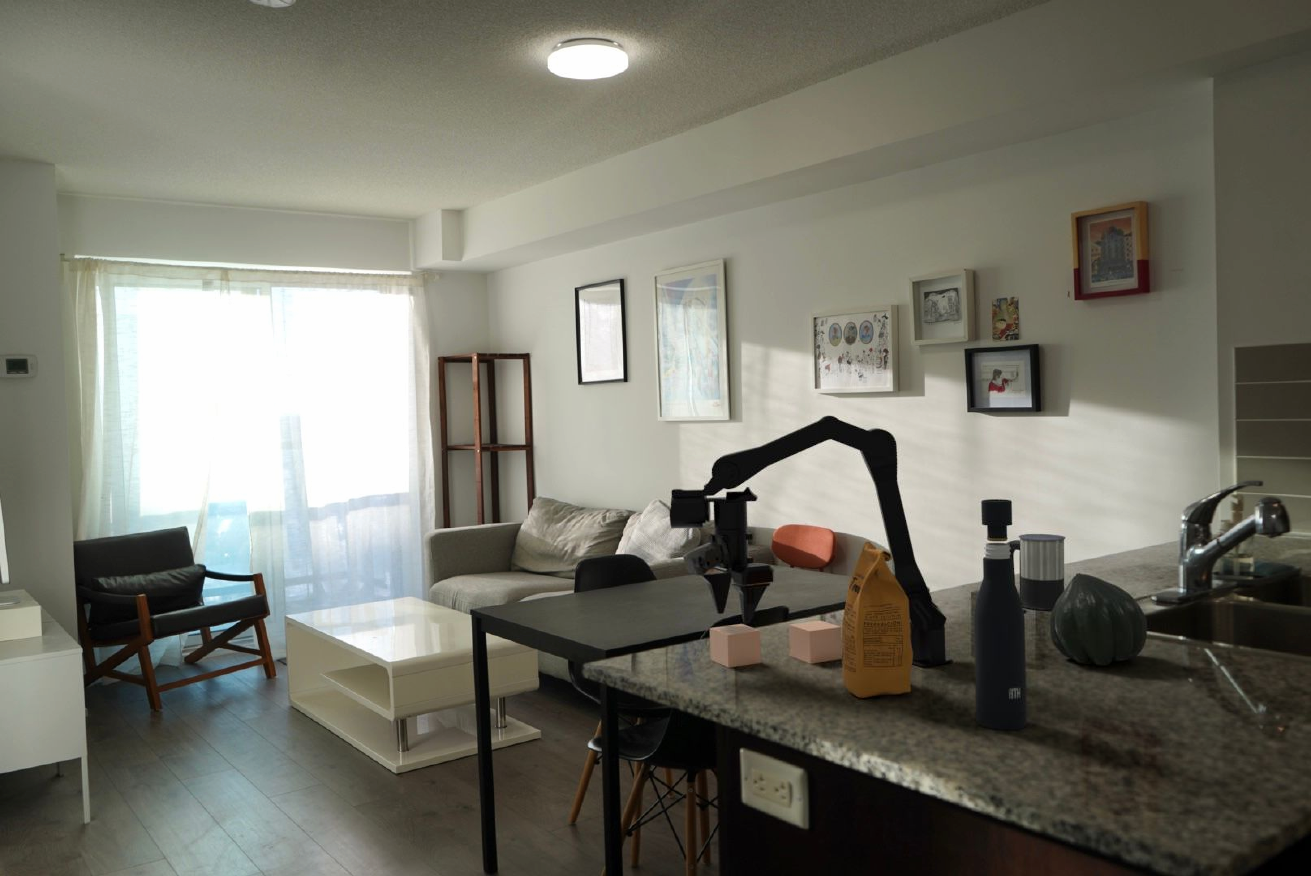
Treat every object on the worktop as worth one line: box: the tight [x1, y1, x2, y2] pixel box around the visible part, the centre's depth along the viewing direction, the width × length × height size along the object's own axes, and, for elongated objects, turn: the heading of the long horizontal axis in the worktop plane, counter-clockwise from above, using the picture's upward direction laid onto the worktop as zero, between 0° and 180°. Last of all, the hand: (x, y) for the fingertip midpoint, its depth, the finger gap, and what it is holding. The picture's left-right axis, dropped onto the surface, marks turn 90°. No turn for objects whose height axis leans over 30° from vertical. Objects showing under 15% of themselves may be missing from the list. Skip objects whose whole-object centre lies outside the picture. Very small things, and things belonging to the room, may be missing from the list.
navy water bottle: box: [973, 498, 1028, 731], centre depth 135 cm, size 6×6×30 cm
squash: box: [1048, 572, 1148, 667], centre depth 167 cm, size 14×15×15 cm
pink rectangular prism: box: [788, 619, 842, 665], centre depth 174 cm, size 6×6×6 cm
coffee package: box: [841, 541, 913, 699], centre depth 153 cm, size 10×12×22 cm
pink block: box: [709, 623, 762, 669], centre depth 173 cm, size 6×6×6 cm
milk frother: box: [1007, 533, 1066, 611], centre depth 209 cm, size 14×16×15 cm
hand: (733, 618), depth 173 cm, fingers open, 9 cm apart
